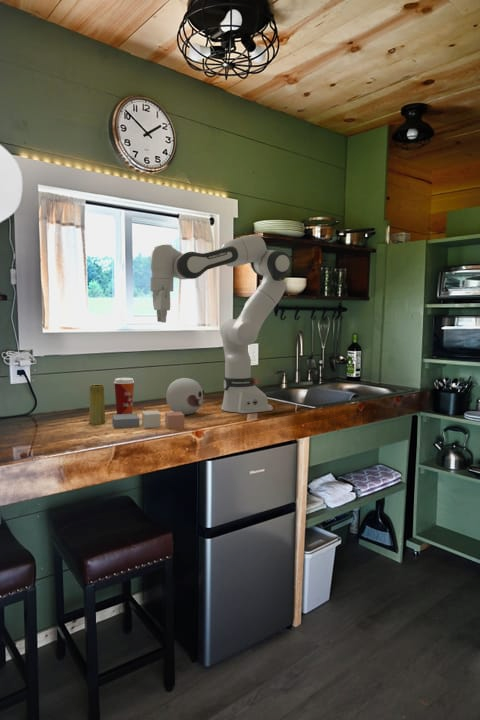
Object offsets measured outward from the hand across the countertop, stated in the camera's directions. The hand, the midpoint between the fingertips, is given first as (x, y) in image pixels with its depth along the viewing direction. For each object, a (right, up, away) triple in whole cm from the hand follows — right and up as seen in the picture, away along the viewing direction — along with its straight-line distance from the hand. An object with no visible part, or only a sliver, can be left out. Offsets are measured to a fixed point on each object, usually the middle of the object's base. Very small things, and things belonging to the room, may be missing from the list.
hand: (161, 322), depth 195 cm
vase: (-23, -39, -7) cm, 46 cm away
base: (-12, -39, -10) cm, 42 cm away
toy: (+8, -38, +9) cm, 40 cm away
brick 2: (+7, -40, -12) cm, 42 cm away
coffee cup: (-16, -38, +6) cm, 41 cm away
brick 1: (-2, -39, -11) cm, 41 cm away
